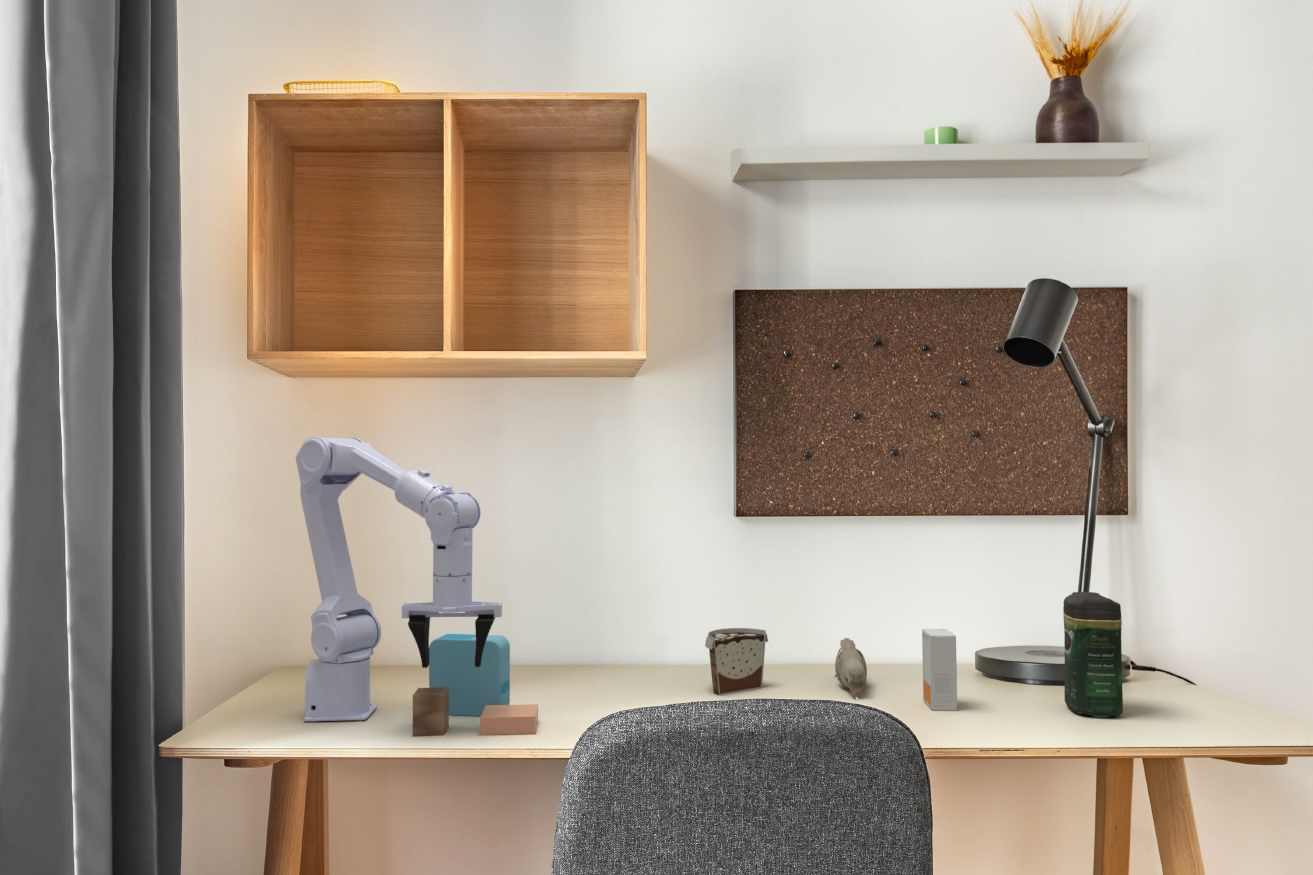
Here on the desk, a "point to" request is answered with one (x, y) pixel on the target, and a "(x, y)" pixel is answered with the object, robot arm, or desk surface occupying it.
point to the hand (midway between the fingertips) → (451, 665)
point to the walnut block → (430, 711)
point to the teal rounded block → (470, 672)
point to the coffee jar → (1093, 654)
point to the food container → (736, 659)
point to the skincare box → (939, 669)
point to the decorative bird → (851, 667)
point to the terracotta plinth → (509, 719)
